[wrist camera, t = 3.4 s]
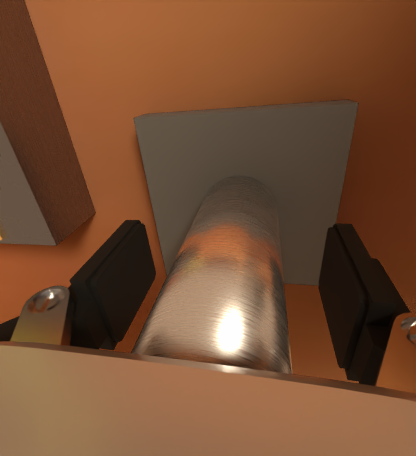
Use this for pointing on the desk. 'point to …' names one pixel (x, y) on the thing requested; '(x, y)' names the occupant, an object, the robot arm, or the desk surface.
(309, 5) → the desk surface
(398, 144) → the desk surface
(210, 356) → the peg
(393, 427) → the robot arm
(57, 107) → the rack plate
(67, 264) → the desk surface
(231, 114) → the pad
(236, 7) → the desk surface
